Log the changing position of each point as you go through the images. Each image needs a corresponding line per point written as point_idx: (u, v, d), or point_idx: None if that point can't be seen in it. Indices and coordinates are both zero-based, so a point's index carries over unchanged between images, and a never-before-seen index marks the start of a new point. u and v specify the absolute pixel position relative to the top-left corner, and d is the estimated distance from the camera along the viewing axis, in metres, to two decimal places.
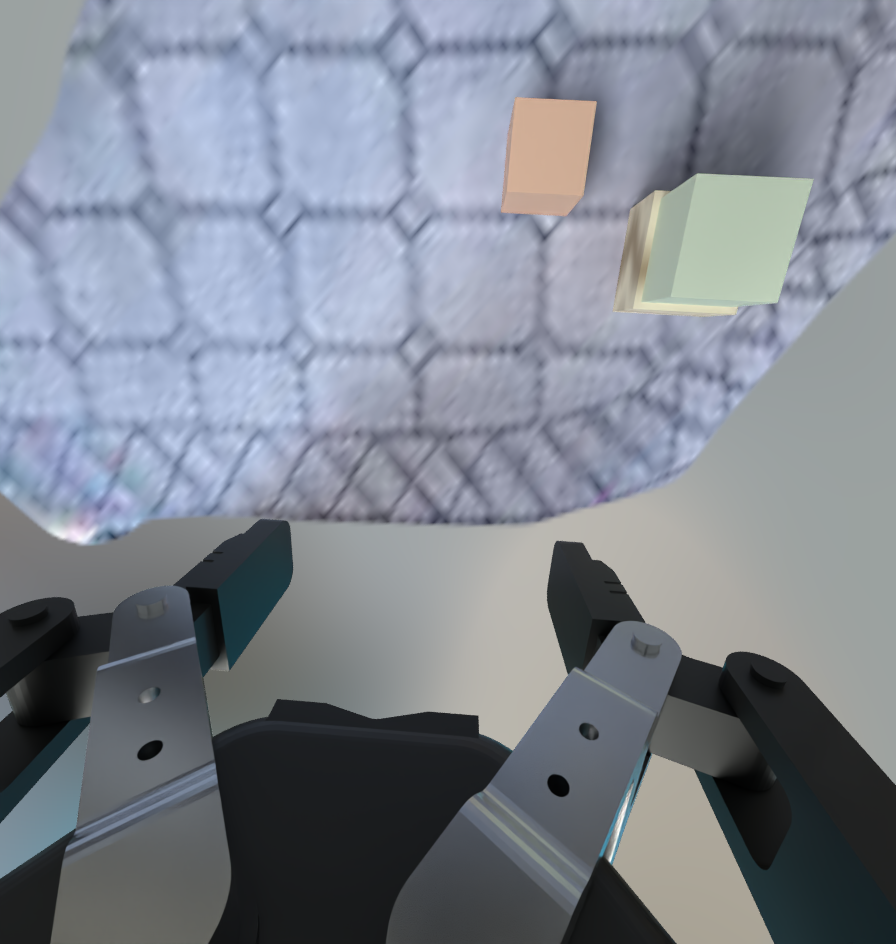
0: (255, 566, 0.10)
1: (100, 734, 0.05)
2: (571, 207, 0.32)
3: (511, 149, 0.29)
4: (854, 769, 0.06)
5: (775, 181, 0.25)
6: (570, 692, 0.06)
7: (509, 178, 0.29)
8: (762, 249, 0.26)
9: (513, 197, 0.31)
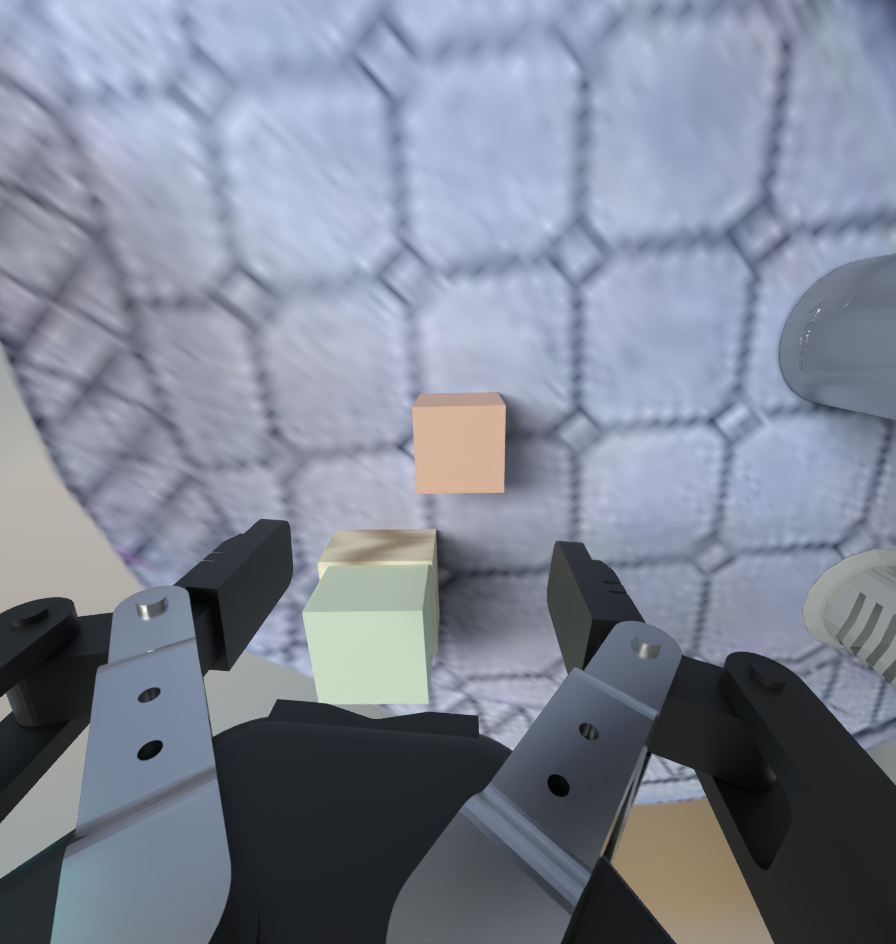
0: (256, 566, 0.10)
1: (100, 734, 0.05)
2: None
3: (455, 407, 0.24)
4: (854, 769, 0.06)
5: (423, 676, 0.25)
6: (570, 692, 0.06)
7: (426, 408, 0.24)
8: (364, 680, 0.25)
9: None
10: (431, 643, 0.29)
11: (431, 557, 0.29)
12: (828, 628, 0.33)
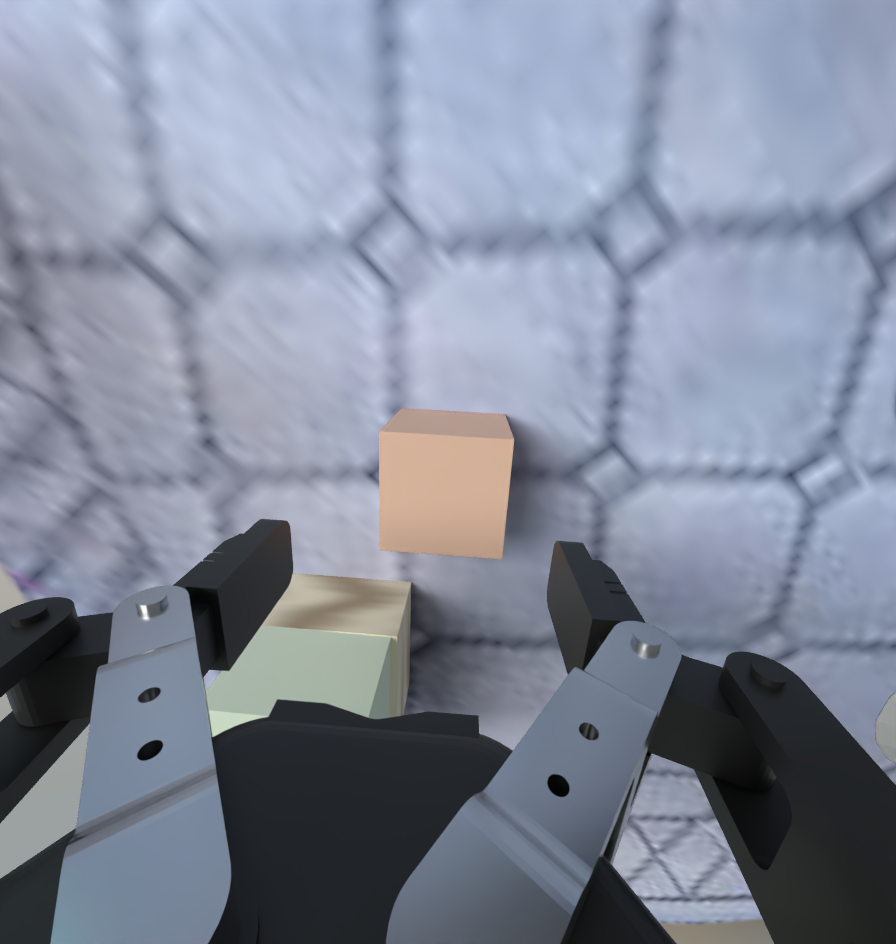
0: (255, 566, 0.10)
1: (100, 734, 0.05)
2: None
3: (441, 436, 0.17)
4: (854, 769, 0.06)
5: None
6: (570, 692, 0.06)
7: (399, 434, 0.17)
8: None
9: None
10: None
11: (397, 630, 0.21)
12: None
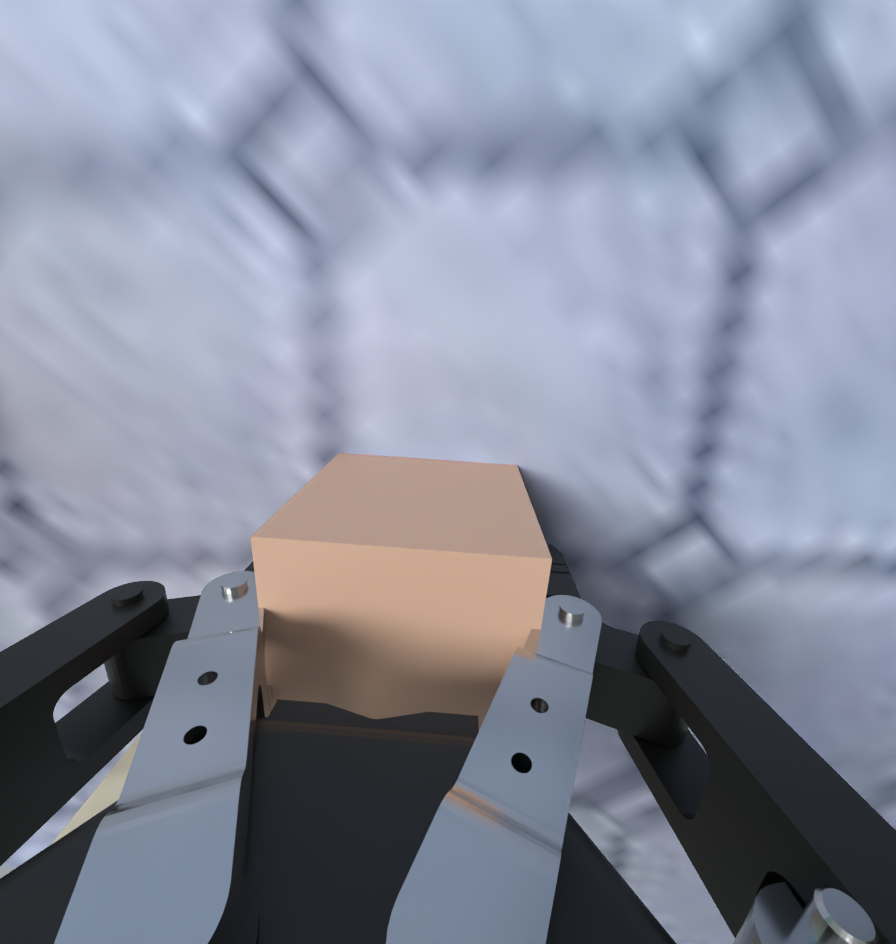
0: None
1: (160, 708, 0.05)
2: None
3: (389, 549, 0.07)
4: (753, 713, 0.06)
5: None
6: (517, 672, 0.06)
7: (295, 544, 0.08)
8: None
9: None
10: None
11: None
12: None
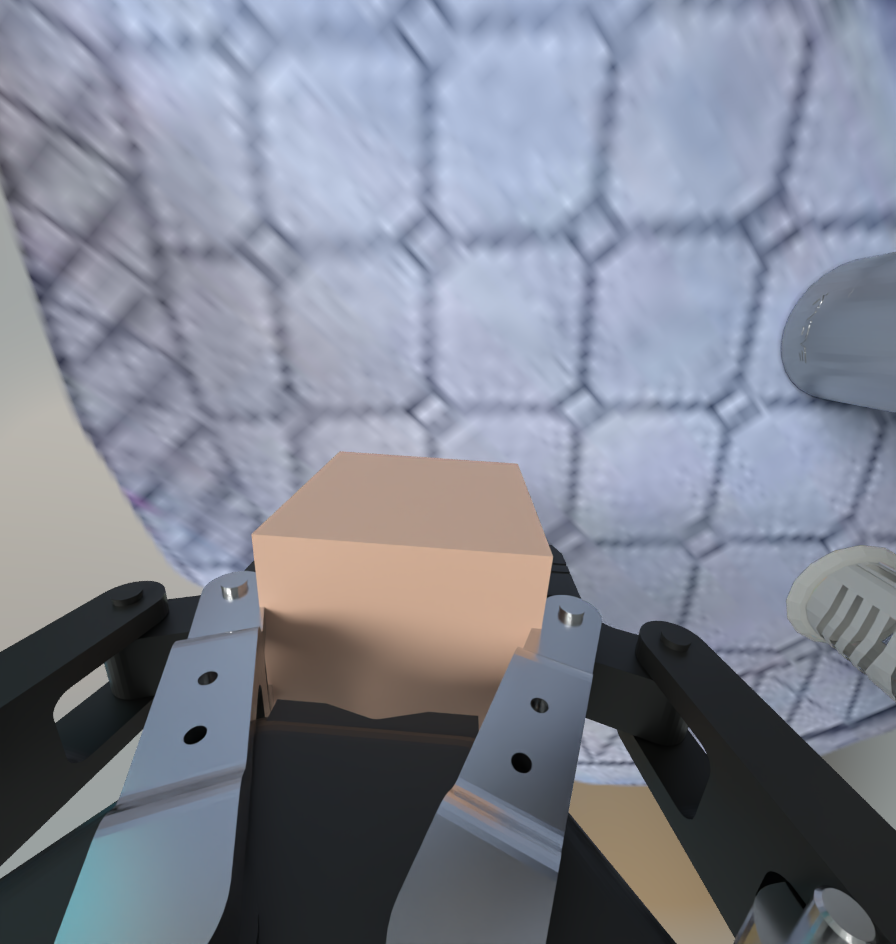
0: None
1: (159, 709, 0.05)
2: None
3: (390, 546, 0.07)
4: (752, 712, 0.06)
5: None
6: (517, 672, 0.06)
7: (296, 542, 0.08)
8: None
9: None
10: None
11: None
12: (809, 620, 0.34)
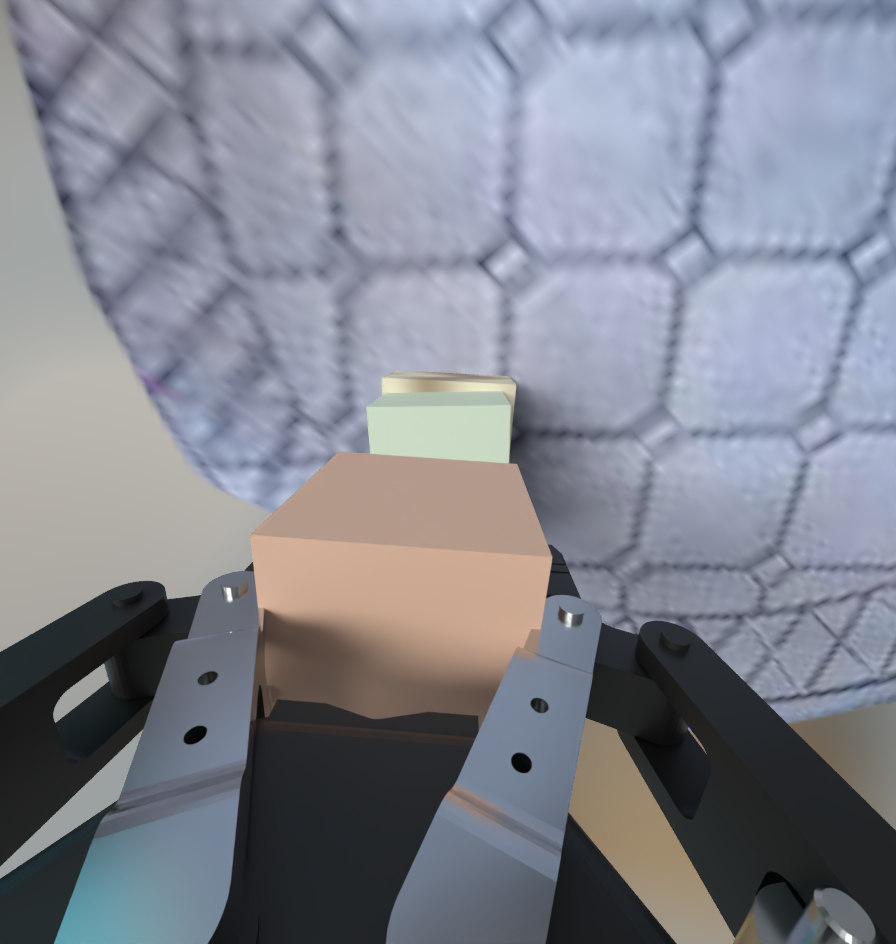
0: None
1: (160, 708, 0.05)
2: None
3: (389, 547, 0.07)
4: (753, 712, 0.06)
5: None
6: (517, 672, 0.06)
7: (295, 542, 0.08)
8: None
9: None
10: None
11: (514, 383, 0.25)
12: None
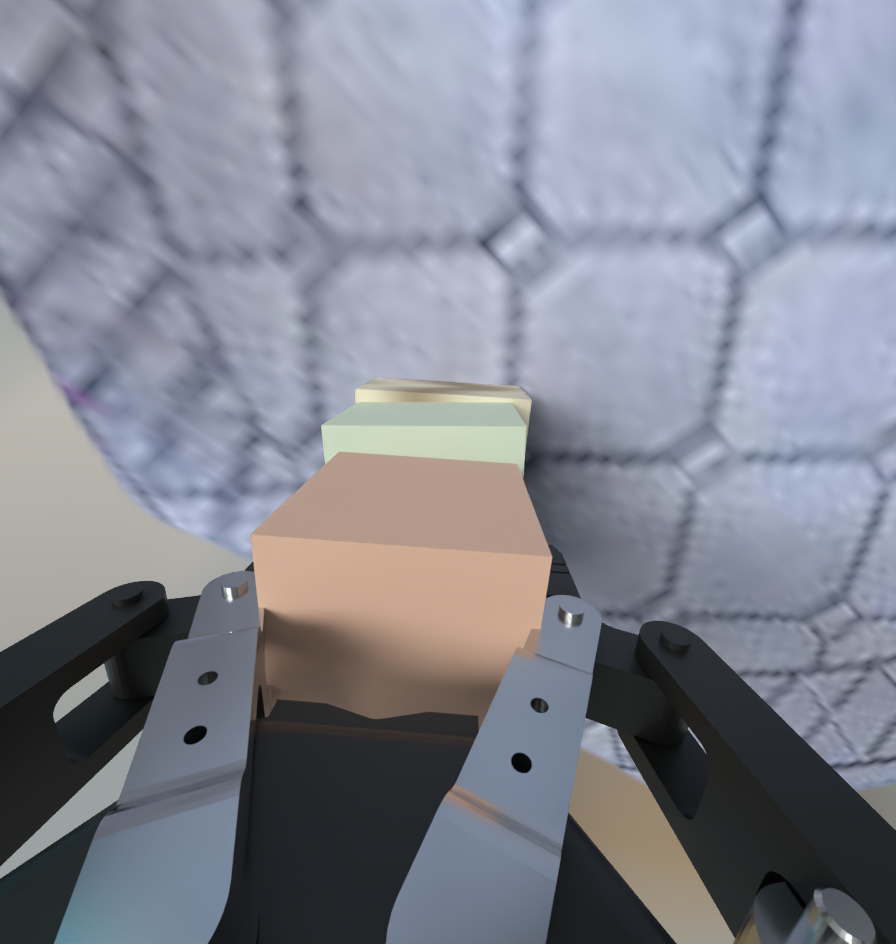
0: None
1: (159, 709, 0.05)
2: None
3: (389, 546, 0.07)
4: (752, 712, 0.06)
5: None
6: (517, 672, 0.06)
7: (295, 542, 0.08)
8: None
9: None
10: None
11: (528, 398, 0.19)
12: None
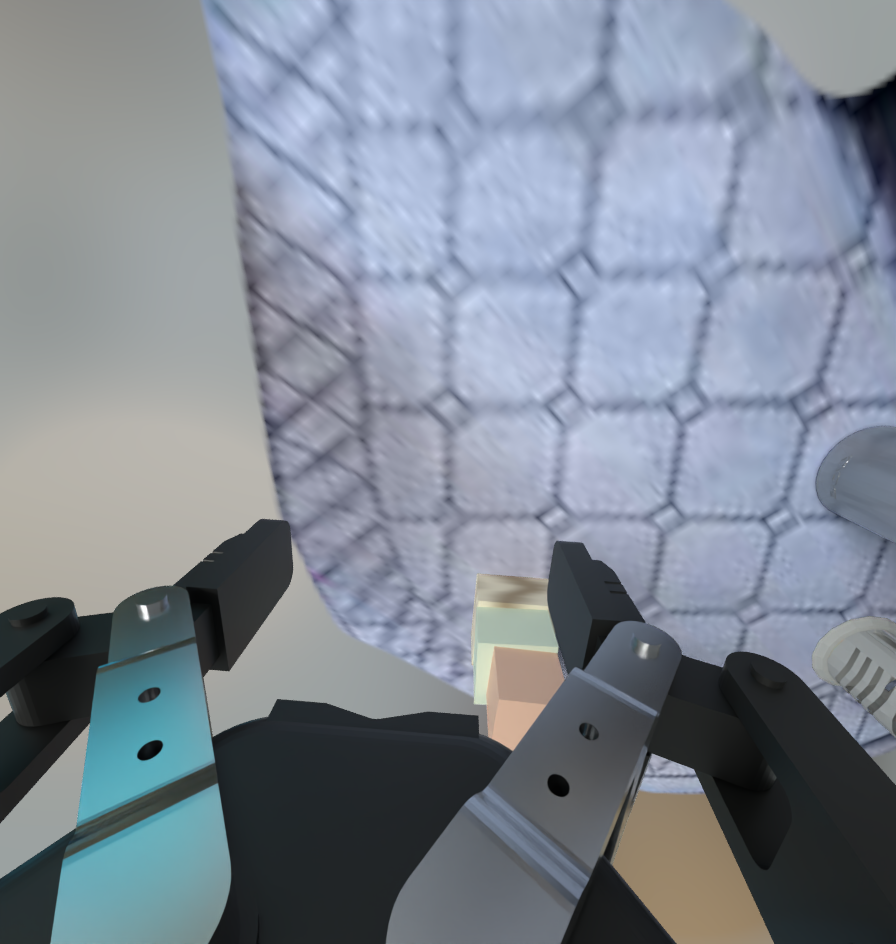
0: (255, 567, 0.10)
1: (100, 734, 0.05)
2: (487, 717, 0.35)
3: (532, 703, 0.31)
4: (853, 768, 0.06)
5: None
6: (570, 692, 0.06)
7: (509, 701, 0.31)
8: None
9: (496, 691, 0.32)
10: None
11: None
12: (830, 670, 0.46)
